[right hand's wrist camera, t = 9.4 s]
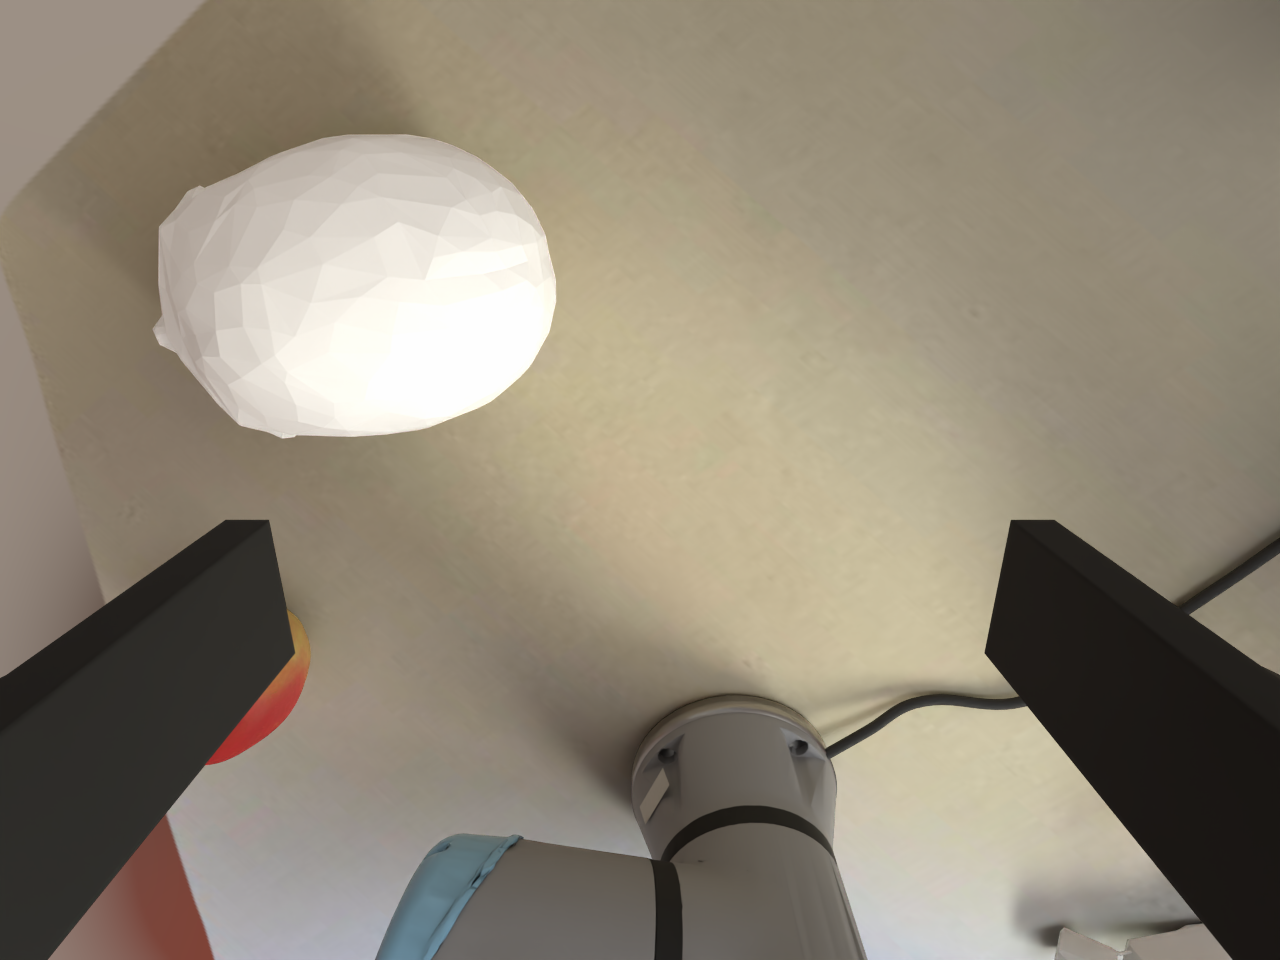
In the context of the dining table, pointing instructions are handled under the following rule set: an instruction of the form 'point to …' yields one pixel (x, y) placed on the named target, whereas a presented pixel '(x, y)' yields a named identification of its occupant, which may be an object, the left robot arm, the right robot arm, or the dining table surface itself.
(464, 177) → the skull
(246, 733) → the apple
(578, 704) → the dining table surface
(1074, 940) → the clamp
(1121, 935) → the dining table surface
